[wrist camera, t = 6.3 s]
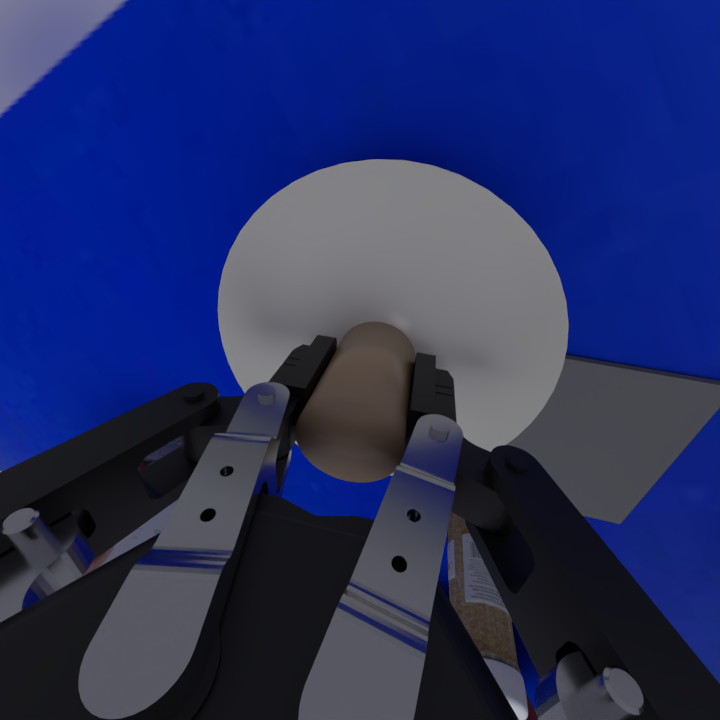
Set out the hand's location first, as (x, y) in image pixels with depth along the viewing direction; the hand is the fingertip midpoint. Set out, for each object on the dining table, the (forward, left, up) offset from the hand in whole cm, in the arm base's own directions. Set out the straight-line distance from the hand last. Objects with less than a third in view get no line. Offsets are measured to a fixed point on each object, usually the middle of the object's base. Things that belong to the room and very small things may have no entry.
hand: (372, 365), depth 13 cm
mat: (-14, +10, -10) cm, 20 cm away
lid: (0, 0, -2) cm, 2 cm away
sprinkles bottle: (-10, +21, -10) cm, 25 cm away
